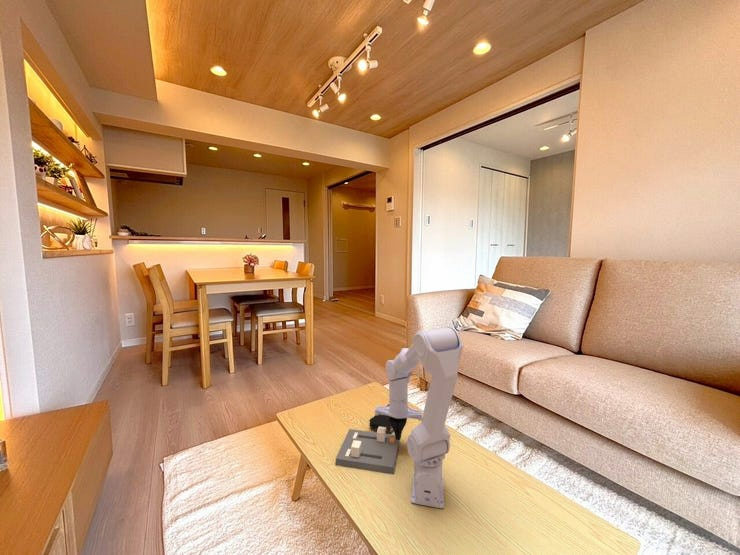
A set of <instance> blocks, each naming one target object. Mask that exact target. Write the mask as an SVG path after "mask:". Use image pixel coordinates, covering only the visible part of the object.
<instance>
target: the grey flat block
mask: <svg viewBox="0 0 740 555" xmlns="http://www.w3.org/2000/svg"><path fill="white" fill-rule="evenodd" d="M354 440H356V441H362V451H361V454H360V457H352V456H351V446H352V443H353V441H354ZM400 441H401V439H400V440H396V437H395V434H392V433H391V434H390V433H386V438H385V442H379V441H377V431H368V430H361V429H353V428H349V429H348V431H347V433H346V435H345V438H344V439H343V442H342V444H341V446H340V448H339V450H338V453H337V455H336V457H335V465H336V466H340V467H341V466H342V467H348V468H354V469H360V470H367V471H373V472H379V473H384V474H385V473H387V474H391V475H392V474H393V475H394V474H395V468H396V463H397V458H398V452H399V447H400V443H401V442H400Z"/></svg>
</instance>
